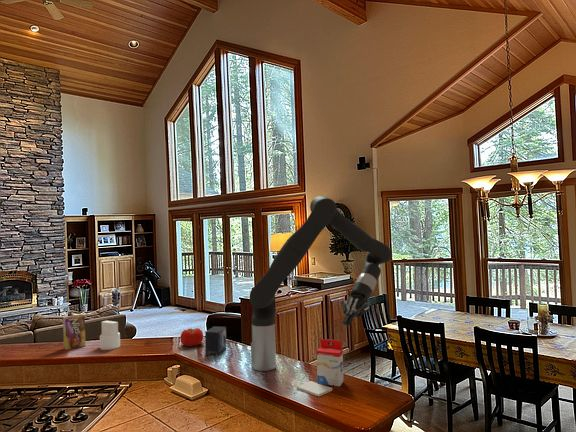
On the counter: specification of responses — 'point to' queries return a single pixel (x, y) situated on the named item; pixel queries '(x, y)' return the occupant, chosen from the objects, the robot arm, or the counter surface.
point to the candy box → (74, 331)
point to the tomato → (191, 337)
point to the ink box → (330, 363)
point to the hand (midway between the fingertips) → (345, 324)
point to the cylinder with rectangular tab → (109, 335)
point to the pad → (314, 388)
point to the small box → (215, 341)
